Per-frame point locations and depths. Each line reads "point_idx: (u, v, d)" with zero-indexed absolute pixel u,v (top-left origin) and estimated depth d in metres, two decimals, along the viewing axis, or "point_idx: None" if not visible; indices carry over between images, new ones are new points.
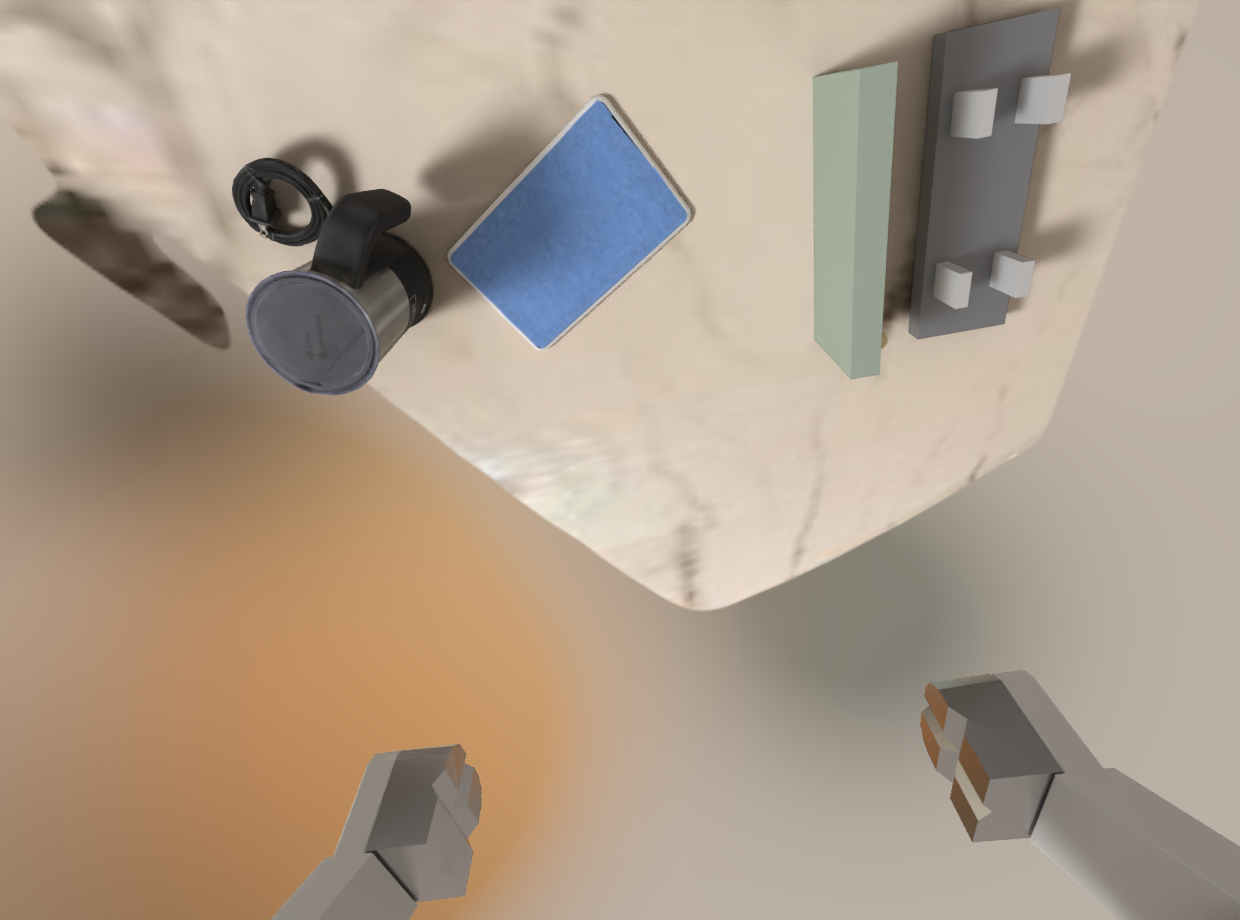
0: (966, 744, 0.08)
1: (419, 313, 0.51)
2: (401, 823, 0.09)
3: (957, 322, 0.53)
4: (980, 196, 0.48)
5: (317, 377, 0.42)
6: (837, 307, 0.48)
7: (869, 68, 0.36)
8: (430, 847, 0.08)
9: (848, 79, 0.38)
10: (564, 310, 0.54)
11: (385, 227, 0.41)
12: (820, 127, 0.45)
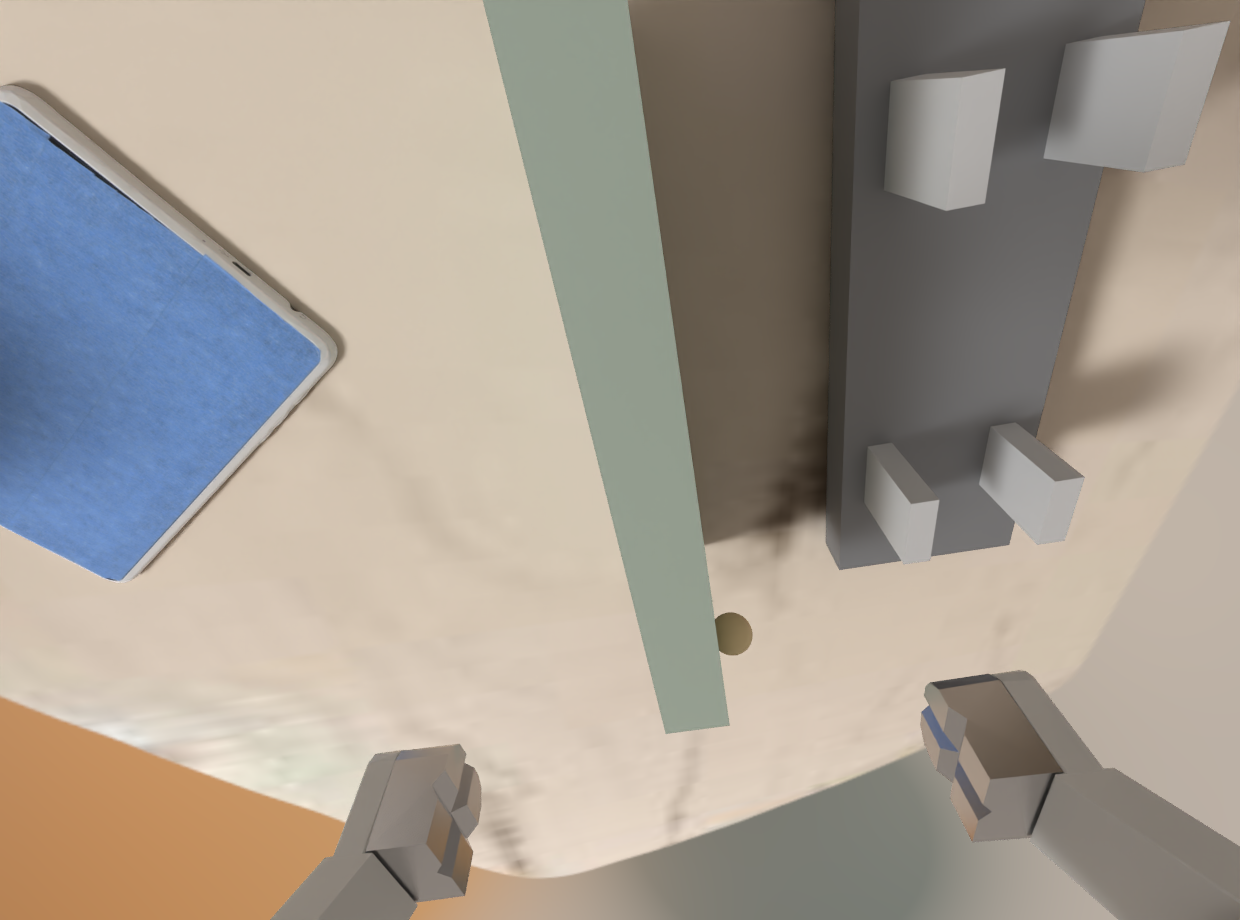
0: (966, 744, 0.08)
1: None
2: (401, 823, 0.09)
3: None
4: (960, 320, 0.21)
5: None
6: None
7: None
8: (430, 847, 0.08)
9: None
10: (130, 521, 0.27)
11: None
12: None
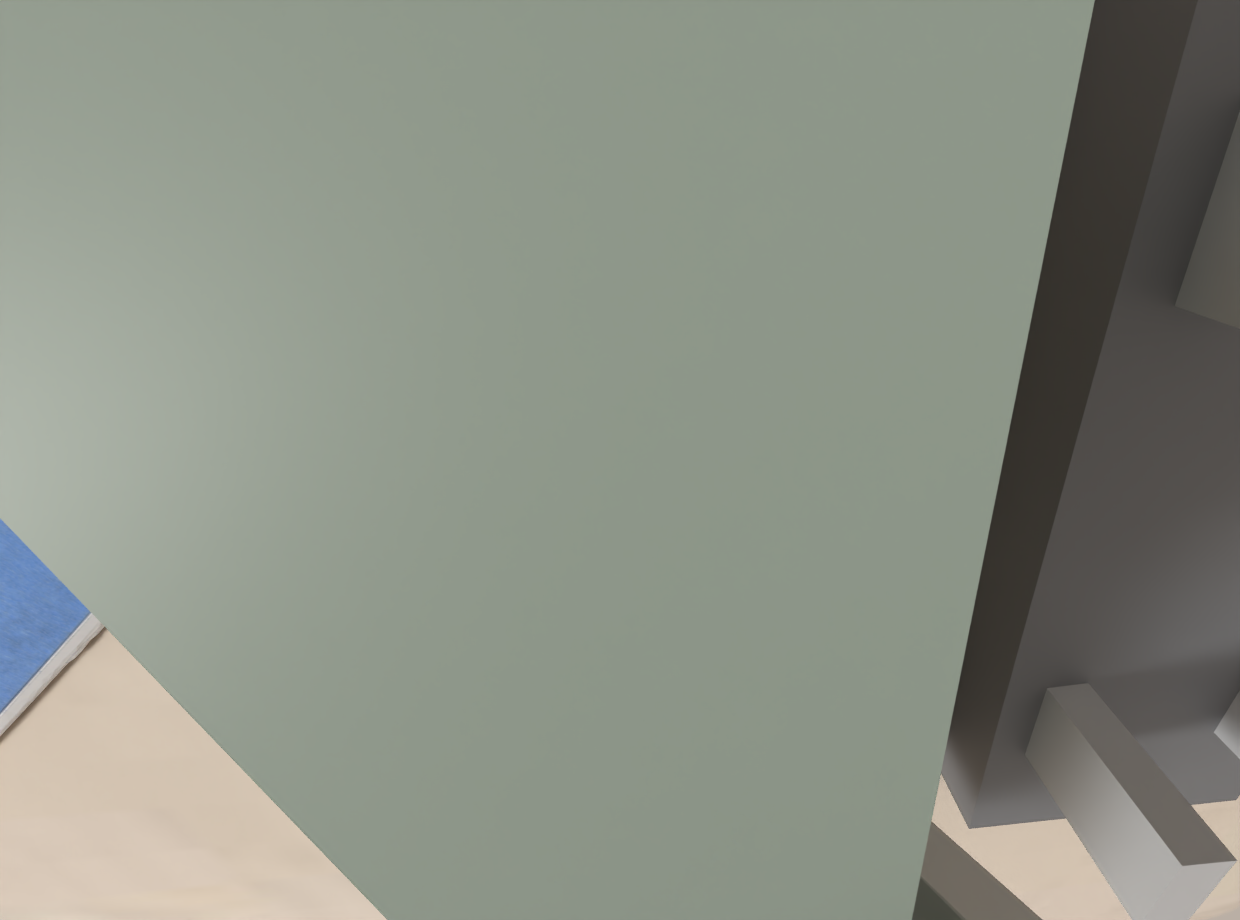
0: None
1: None
2: None
3: None
4: None
5: None
6: None
7: None
8: None
9: None
10: None
11: None
12: None
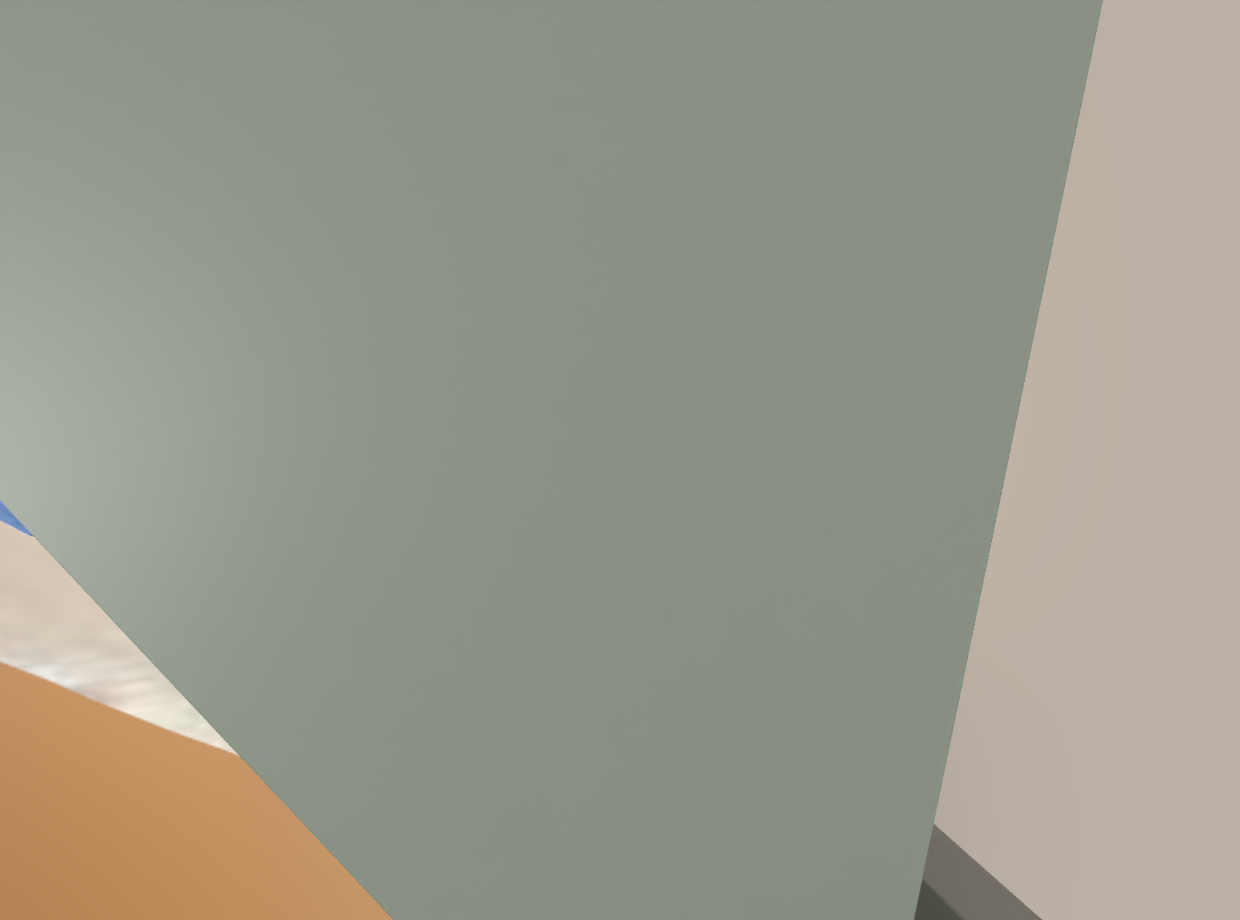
0: None
1: None
2: None
3: None
4: None
5: None
6: None
7: None
8: None
9: None
10: None
11: None
12: None
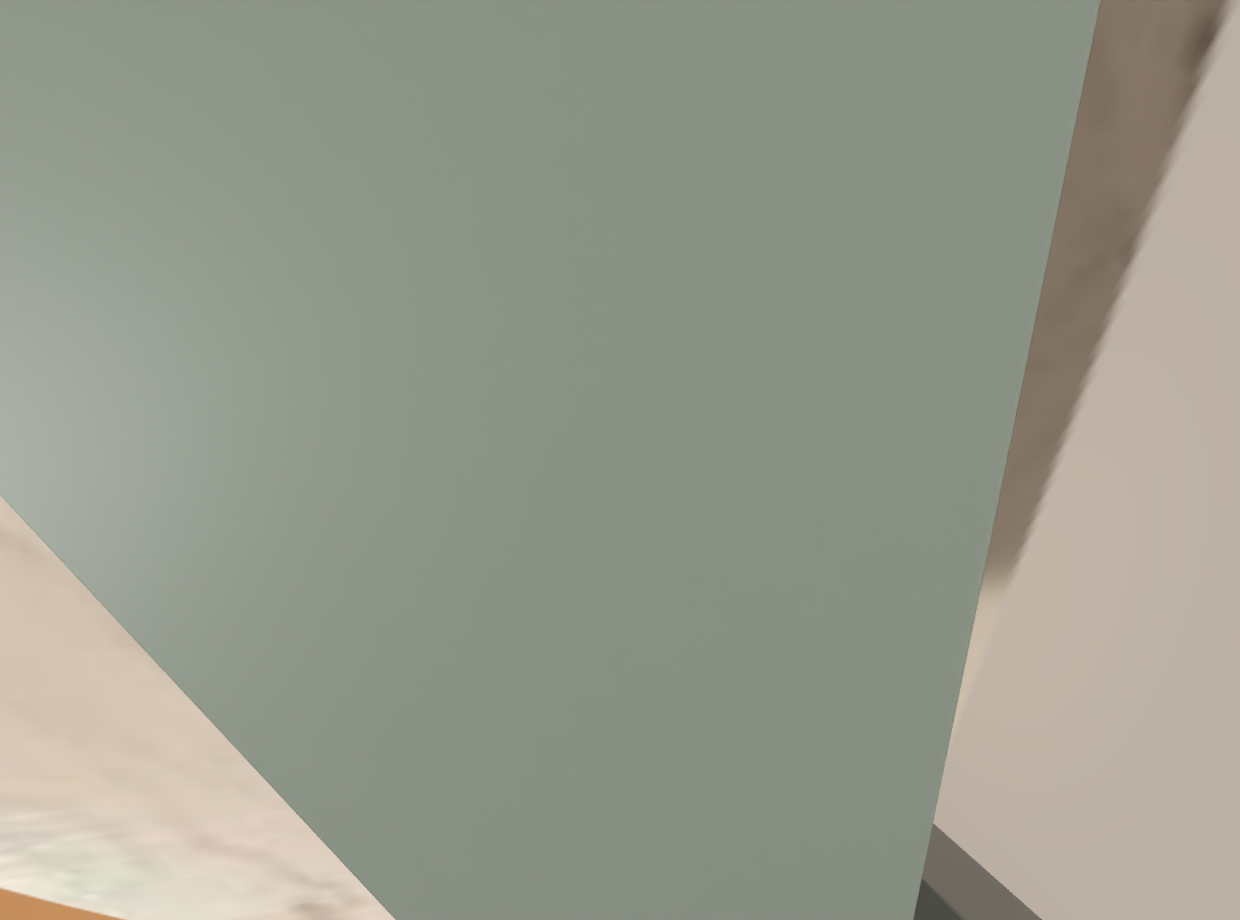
0: None
1: None
2: None
3: None
4: None
5: None
6: None
7: None
8: None
9: None
10: None
11: None
12: None
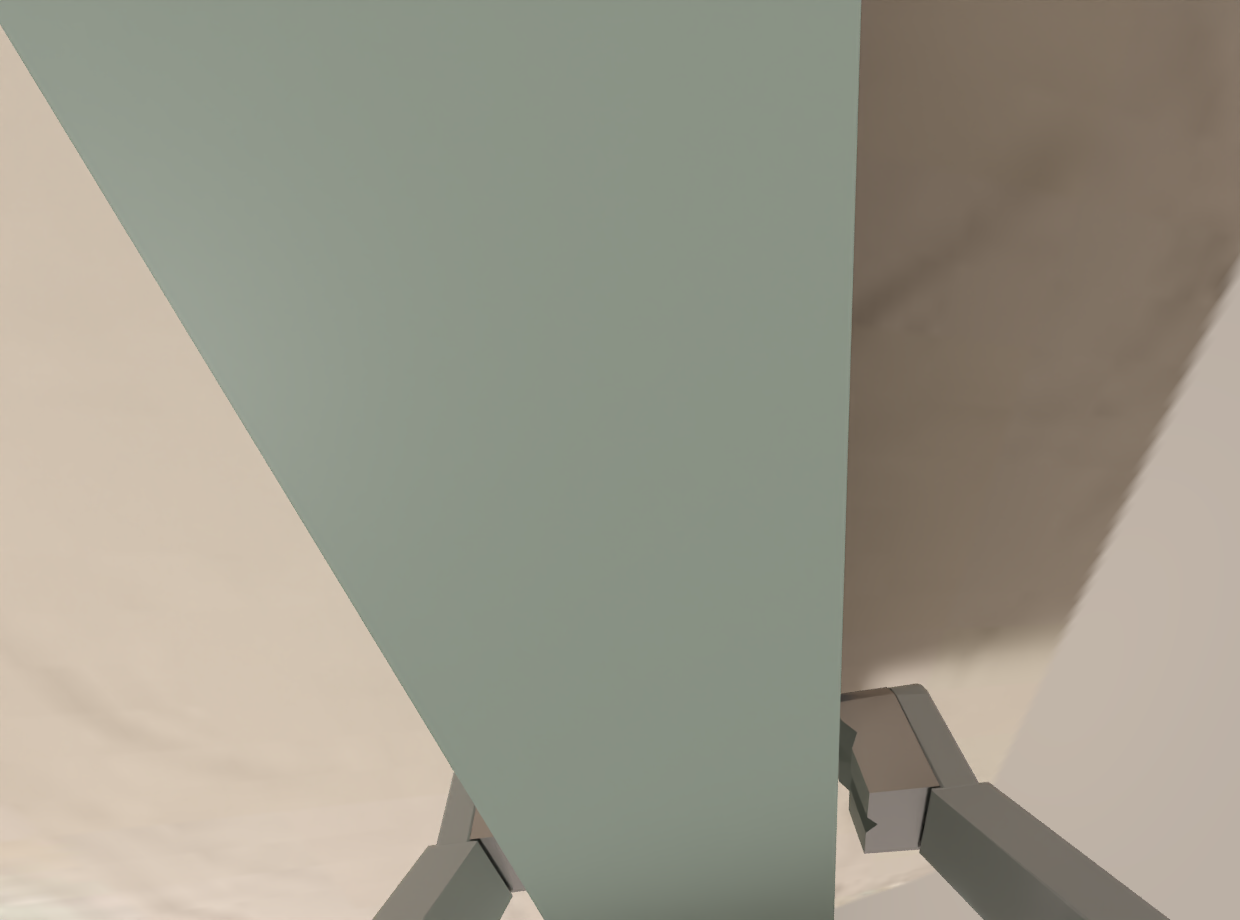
0: (854, 757, 0.08)
1: None
2: None
3: None
4: None
5: None
6: None
7: None
8: None
9: None
10: None
11: None
12: None
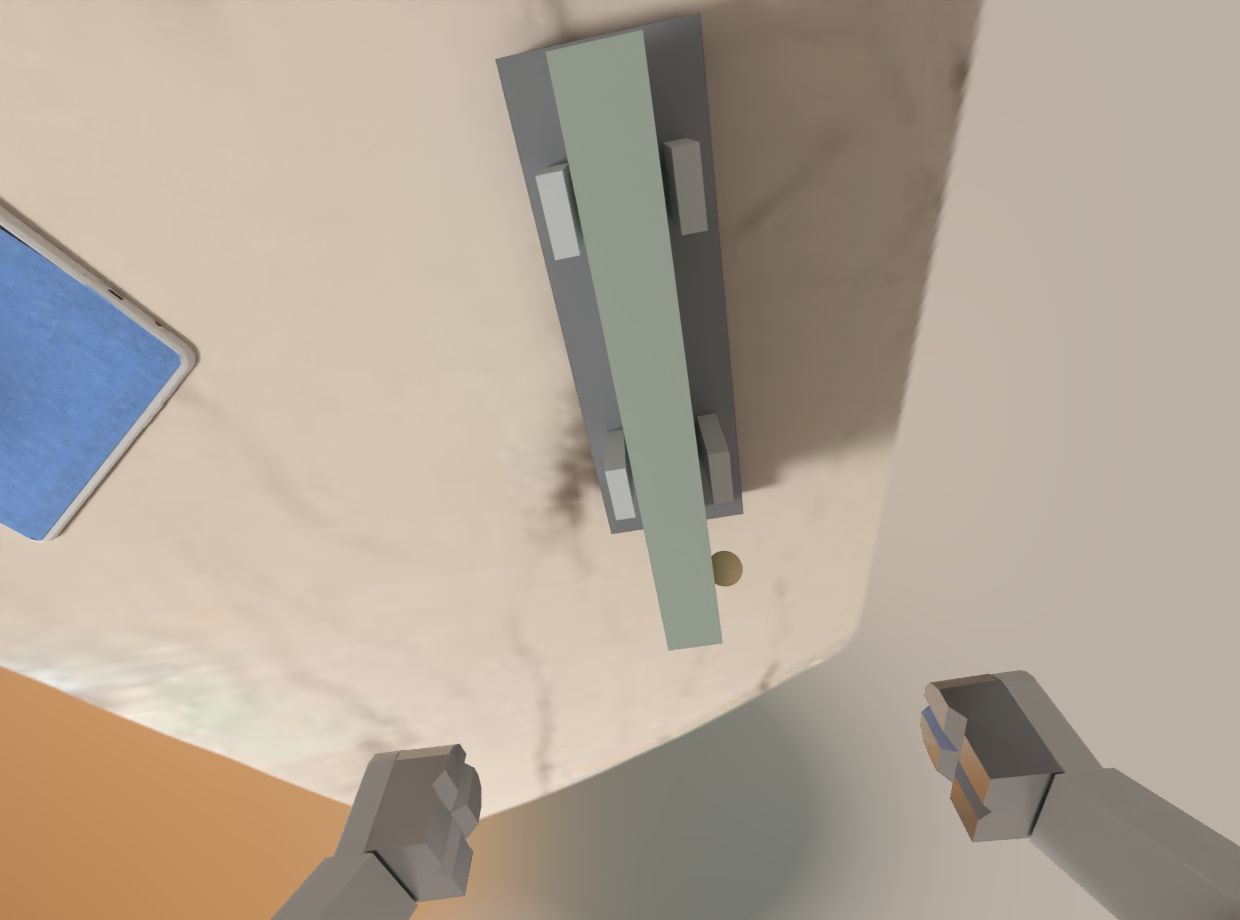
0: (966, 744, 0.08)
1: None
2: (401, 823, 0.09)
3: None
4: None
5: None
6: None
7: (570, 49, 0.14)
8: (430, 847, 0.08)
9: None
10: (45, 490, 0.34)
11: None
12: None
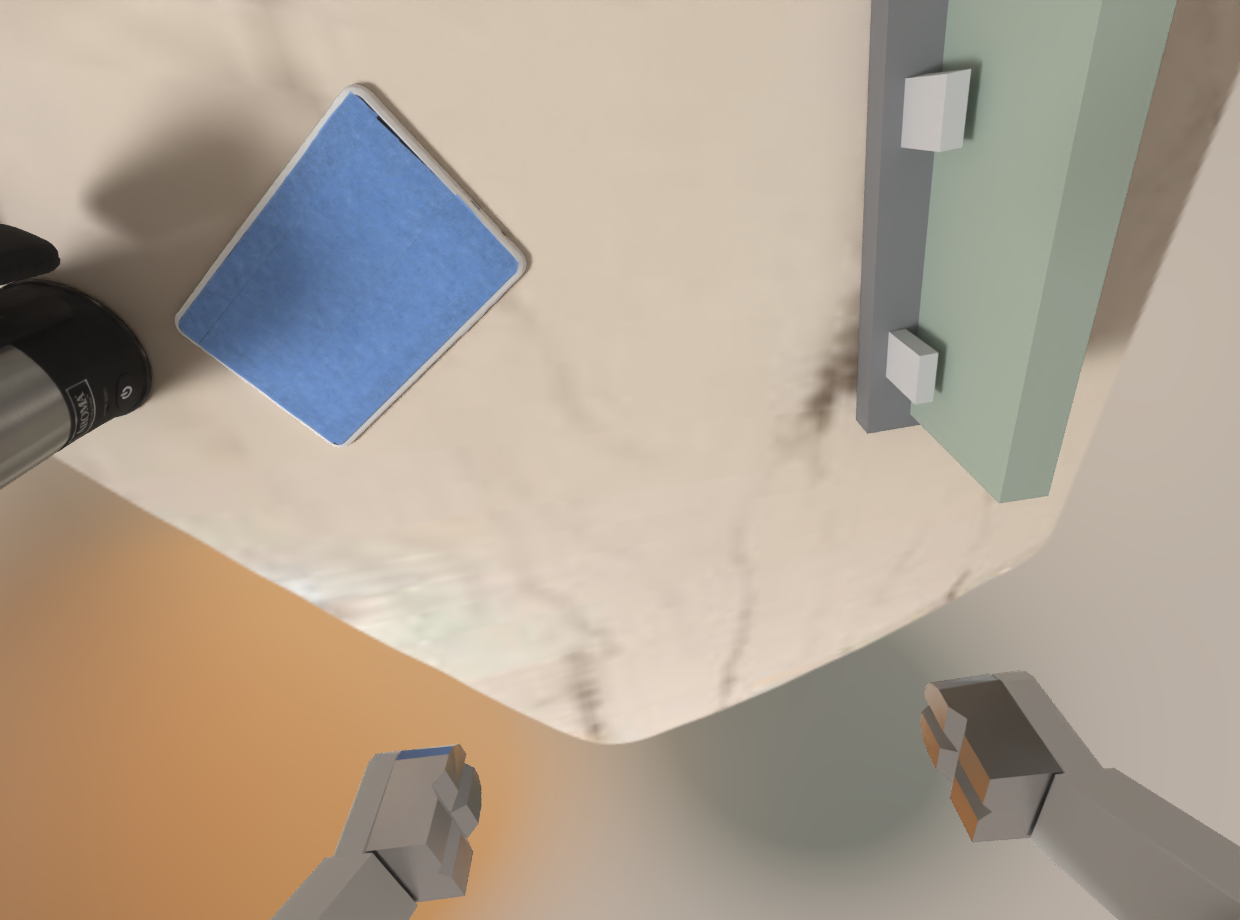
0: (966, 744, 0.08)
1: (115, 401, 0.35)
2: (401, 823, 0.09)
3: None
4: None
5: None
6: (977, 384, 0.29)
7: None
8: (430, 847, 0.08)
9: None
10: (360, 395, 0.37)
11: None
12: None
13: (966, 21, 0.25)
